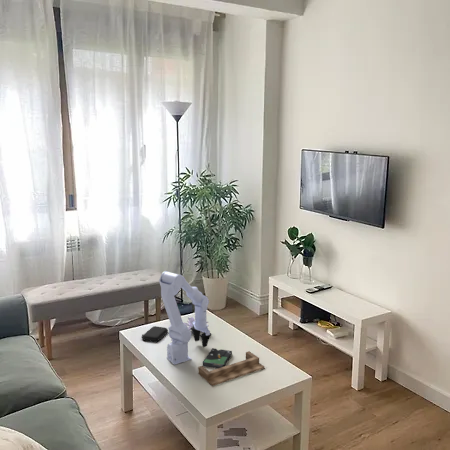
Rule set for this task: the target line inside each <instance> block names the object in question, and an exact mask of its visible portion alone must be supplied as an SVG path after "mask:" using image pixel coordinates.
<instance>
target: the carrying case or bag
mask: <svg viewBox="0 0 450 450" xmlns="http://www.w3.org/2000/svg"><path fill="white" fill-rule="evenodd" d="M167 333H169V329H168V328H167V327H164V326H156V325H155V326H152V327H150V328H149V329H148V330H147V331H146V332H145V333H143V334H141V338H142V340H143V341H144V342H145V341H146V342H151V341H152V343H153V342H154V343H158V342H159V341H160V340H162V338H163V337H164V336H165V335H166V334H167Z"/></svg>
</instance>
